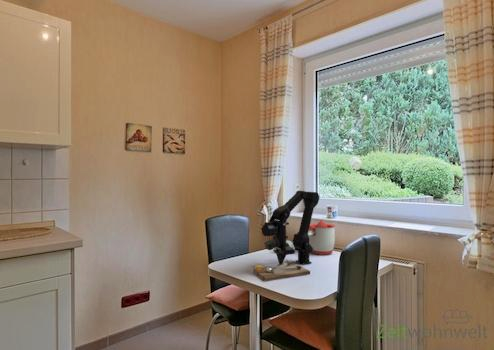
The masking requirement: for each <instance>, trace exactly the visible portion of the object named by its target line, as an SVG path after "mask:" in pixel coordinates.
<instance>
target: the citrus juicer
mask: <svg viewBox="0 0 494 350" xmlns="http://www.w3.org/2000/svg"><path fill="white" fill-rule="evenodd" d="M335 234H336V233H335V225H334V224H332V223H326V222H325V221H324V220H320V221H319V222H318V223H316V222H315V223H310V227H309V231H308V236H309V244H310V245H311V246H312V248H313V250H312V252H311V253H313V254H317V255H320V256H323V255H325V256H326V255H331V254H332V253H333V251H334V247H335V239H336V237H335V236H336V235H335Z"/></svg>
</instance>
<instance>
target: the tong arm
mask: <svg viewBox="0 0 494 350" xmlns="http://www.w3.org/2000/svg"><path fill="white" fill-rule="evenodd" d="M289 264H290V261H288V260H287V261H283V263H281V264H279V263H278V264H276V265H273V267H272V266H269V267H270V268H266V272H267V273H271V272H272V271H273V269H279V268H283V267H285V266H288V265H289Z"/></svg>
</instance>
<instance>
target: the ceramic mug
mask: <svg viewBox="0 0 494 350" xmlns="http://www.w3.org/2000/svg"><path fill="white" fill-rule="evenodd" d="M286 244H288V246H287V247H292V248H293V249H295V248H294V245H293V241H291V240H288V239H286Z"/></svg>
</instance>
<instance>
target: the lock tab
mask: <svg viewBox="0 0 494 350" xmlns="http://www.w3.org/2000/svg"><path fill="white" fill-rule="evenodd" d="M263 268H264V267H263V265H261V264H257V265H255V269H256V270H257V271H263Z"/></svg>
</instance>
